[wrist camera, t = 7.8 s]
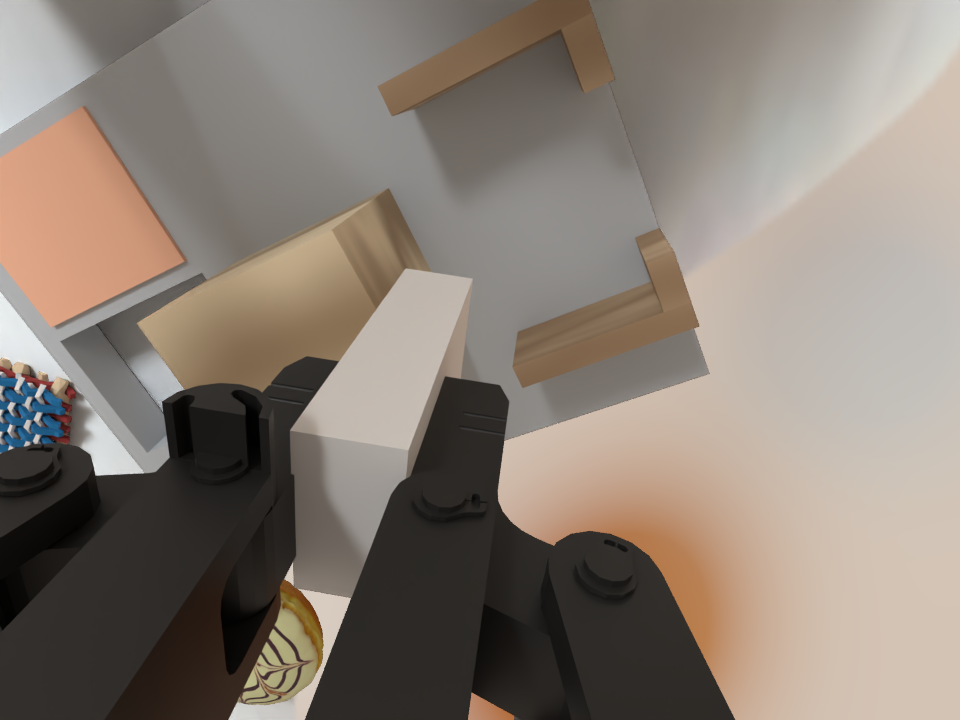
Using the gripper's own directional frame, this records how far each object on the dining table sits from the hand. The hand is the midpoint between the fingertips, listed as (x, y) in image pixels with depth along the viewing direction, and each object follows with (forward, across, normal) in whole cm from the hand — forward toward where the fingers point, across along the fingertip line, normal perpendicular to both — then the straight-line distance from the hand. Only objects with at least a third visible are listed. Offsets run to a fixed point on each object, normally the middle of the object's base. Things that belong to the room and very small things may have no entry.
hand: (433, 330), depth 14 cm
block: (+12, -6, -4) cm, 14 cm away
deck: (+15, -7, -4) cm, 17 cm away
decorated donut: (+15, -12, -29) cm, 35 cm away
